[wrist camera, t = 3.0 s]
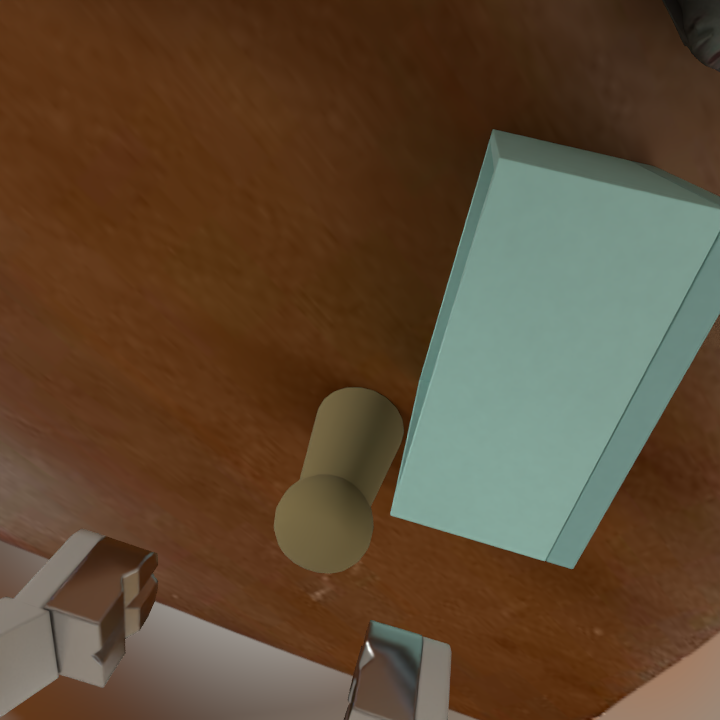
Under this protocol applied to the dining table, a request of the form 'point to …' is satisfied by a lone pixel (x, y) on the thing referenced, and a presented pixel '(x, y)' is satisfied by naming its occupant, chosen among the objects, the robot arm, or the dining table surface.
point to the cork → (339, 481)
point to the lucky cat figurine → (698, 28)
